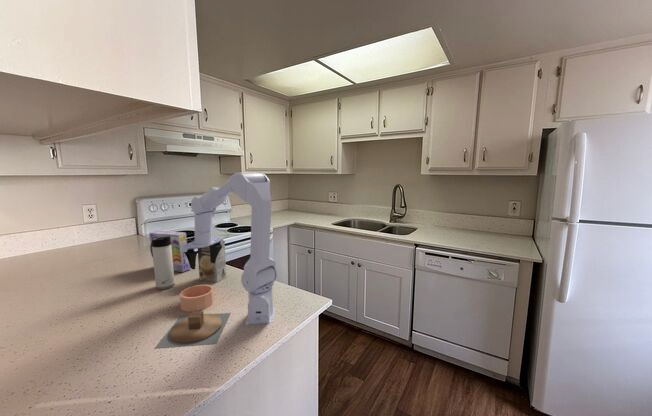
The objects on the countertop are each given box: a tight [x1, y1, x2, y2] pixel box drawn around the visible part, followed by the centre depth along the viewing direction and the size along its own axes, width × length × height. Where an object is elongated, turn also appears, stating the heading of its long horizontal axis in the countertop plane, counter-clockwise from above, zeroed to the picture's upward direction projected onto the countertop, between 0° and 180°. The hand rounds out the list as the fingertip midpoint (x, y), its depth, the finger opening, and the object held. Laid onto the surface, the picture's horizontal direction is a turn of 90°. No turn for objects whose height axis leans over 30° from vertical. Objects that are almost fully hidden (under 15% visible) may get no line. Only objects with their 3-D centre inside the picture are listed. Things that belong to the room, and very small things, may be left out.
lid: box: [170, 310, 222, 344], centre depth 74 cm, size 13×13×4 cm
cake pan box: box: [148, 229, 191, 273], centre depth 121 cm, size 19×5×18 cm, turn 70°
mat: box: [153, 312, 232, 350], centre depth 74 cm, size 15×15×1 cm
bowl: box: [179, 284, 216, 313], centre depth 88 cm, size 10×10×5 cm
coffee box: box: [196, 240, 227, 283], centre depth 110 cm, size 9×6×16 cm
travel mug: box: [152, 236, 176, 291], centre depth 102 cm, size 6×7×20 cm
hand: (203, 265), depth 96 cm, fingers open, 7 cm apart
